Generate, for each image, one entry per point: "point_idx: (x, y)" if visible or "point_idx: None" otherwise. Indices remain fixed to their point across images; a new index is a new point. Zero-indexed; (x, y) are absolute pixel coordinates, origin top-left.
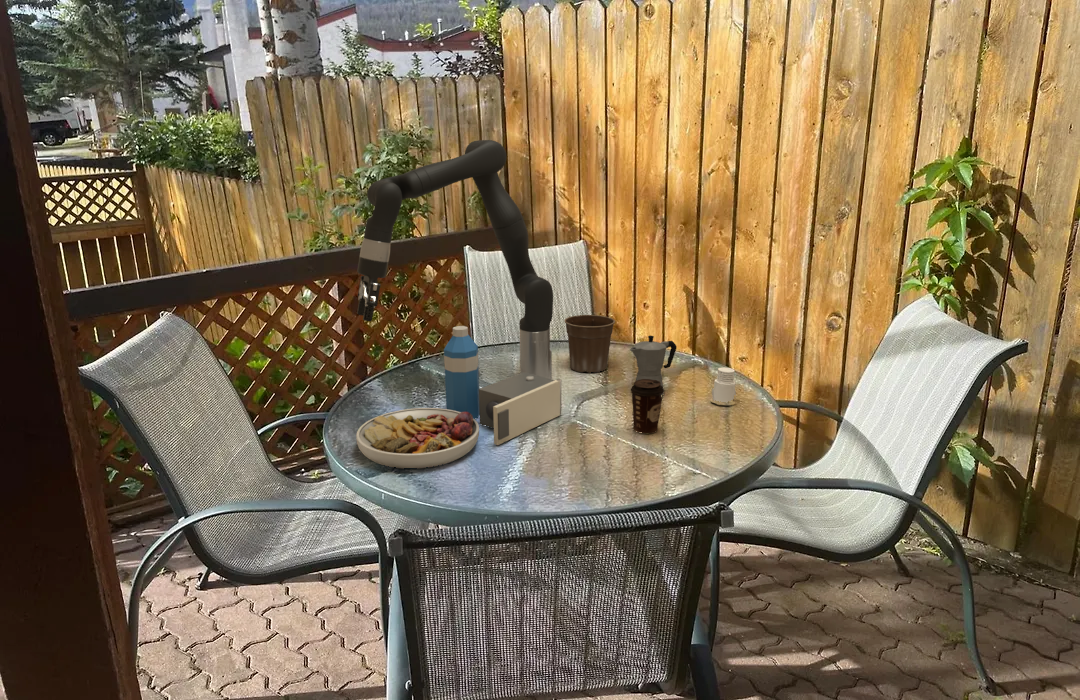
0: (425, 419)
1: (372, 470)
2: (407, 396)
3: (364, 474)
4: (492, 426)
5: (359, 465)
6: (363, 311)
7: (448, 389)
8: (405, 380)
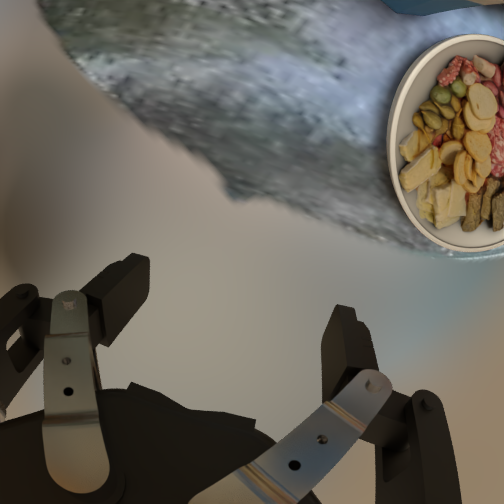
0: (449, 94)
1: None
2: (208, 18)
3: None
4: None
5: None
6: (137, 279)
7: (435, 5)
8: (108, 6)
